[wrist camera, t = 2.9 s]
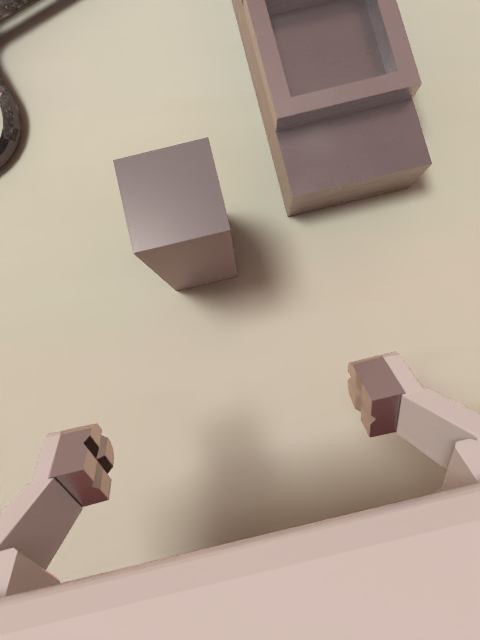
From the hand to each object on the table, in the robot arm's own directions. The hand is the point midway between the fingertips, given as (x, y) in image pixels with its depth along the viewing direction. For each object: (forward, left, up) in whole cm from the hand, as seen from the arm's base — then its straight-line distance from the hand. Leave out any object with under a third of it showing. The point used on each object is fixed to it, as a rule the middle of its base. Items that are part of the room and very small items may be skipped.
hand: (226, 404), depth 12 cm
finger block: (0, +8, -11) cm, 14 cm away
